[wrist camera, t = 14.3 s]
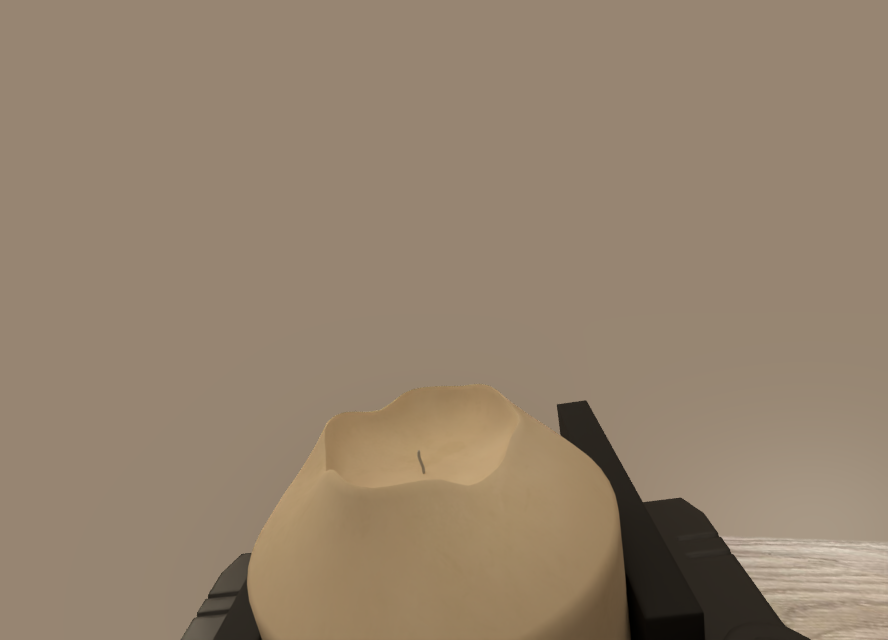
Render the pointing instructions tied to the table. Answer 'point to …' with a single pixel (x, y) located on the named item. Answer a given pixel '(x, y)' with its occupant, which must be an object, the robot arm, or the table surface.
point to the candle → (442, 530)
